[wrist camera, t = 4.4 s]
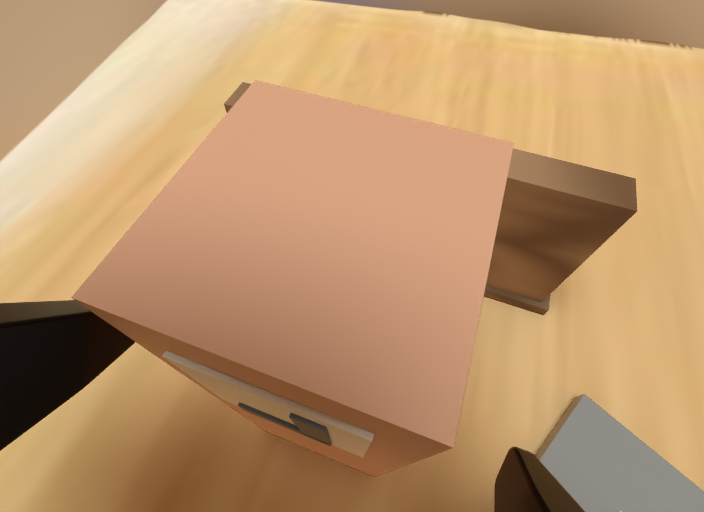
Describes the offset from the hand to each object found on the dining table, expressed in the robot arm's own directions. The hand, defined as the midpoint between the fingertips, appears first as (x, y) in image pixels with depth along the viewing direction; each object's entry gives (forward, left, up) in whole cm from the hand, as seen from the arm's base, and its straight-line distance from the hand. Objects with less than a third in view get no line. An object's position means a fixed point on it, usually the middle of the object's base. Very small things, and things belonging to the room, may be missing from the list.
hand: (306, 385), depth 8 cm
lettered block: (+1, +1, -9) cm, 9 cm away
